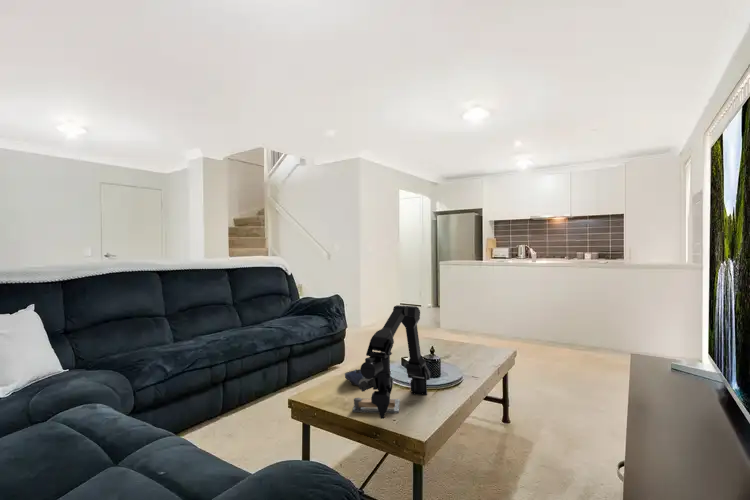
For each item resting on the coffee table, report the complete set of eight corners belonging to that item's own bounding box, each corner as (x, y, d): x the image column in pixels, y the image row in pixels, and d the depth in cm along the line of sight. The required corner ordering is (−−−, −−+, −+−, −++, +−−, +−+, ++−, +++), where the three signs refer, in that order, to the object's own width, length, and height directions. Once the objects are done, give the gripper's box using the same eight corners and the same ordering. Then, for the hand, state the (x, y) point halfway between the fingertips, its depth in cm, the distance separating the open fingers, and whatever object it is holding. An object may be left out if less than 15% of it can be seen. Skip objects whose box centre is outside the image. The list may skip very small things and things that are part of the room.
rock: (347, 391, 169) (369, 385, 170) (343, 372, 171) (365, 366, 172) (349, 390, 184) (369, 384, 185) (345, 372, 186) (364, 367, 187)
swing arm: (395, 405, 149) (394, 398, 149) (394, 409, 146) (394, 401, 146) (354, 404, 151) (354, 397, 151) (353, 408, 148) (353, 400, 148)
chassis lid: (400, 401, 157) (399, 398, 157) (398, 413, 146) (398, 410, 146) (356, 400, 159) (356, 397, 159) (352, 412, 148) (352, 409, 148)
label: (378, 404, 152) (378, 403, 152) (377, 408, 148) (377, 407, 148) (365, 404, 153) (365, 403, 153) (364, 408, 149) (364, 407, 149)
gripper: (363, 361, 147) (364, 401, 148) (355, 379, 129) (357, 424, 129) (392, 361, 146) (393, 401, 146) (388, 379, 127) (389, 425, 128)
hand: (383, 412), depth 137 cm, fingers open, 9 cm apart
